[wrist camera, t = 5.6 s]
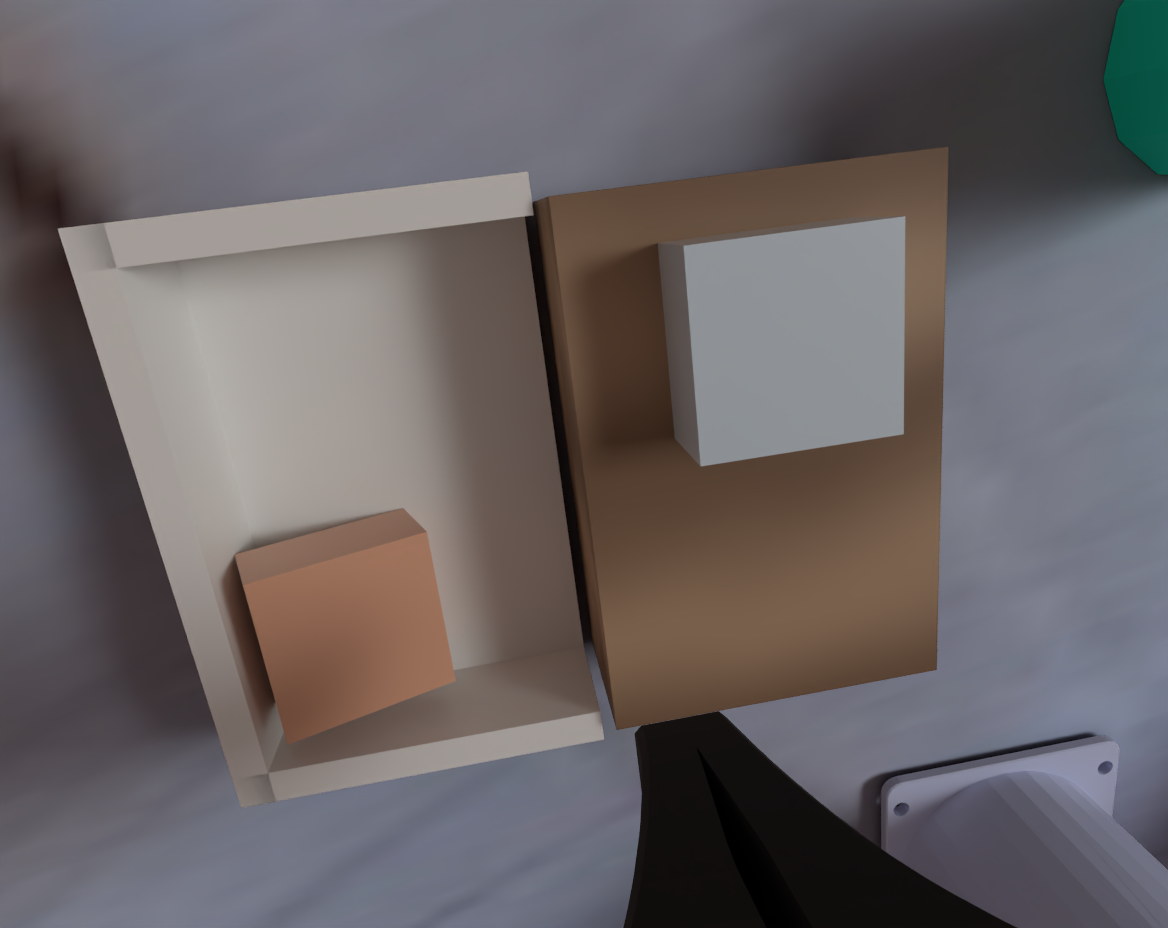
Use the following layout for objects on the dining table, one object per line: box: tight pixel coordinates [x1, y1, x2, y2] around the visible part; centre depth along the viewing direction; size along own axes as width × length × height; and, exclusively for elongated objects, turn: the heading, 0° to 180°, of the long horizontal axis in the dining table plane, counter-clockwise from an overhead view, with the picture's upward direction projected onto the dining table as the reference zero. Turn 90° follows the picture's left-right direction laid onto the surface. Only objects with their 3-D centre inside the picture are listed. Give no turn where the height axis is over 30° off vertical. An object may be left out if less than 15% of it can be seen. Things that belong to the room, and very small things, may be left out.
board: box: [534, 146, 949, 730], centre depth 19 cm, size 12×8×4 cm, turn 7°
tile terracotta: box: [235, 508, 456, 745], centre depth 19 cm, size 4×4×2 cm
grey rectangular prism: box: [658, 216, 905, 466], centre depth 15 cm, size 4×4×2 cm
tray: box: [58, 172, 604, 808], centre depth 18 cm, size 13×9×4 cm, turn 7°
